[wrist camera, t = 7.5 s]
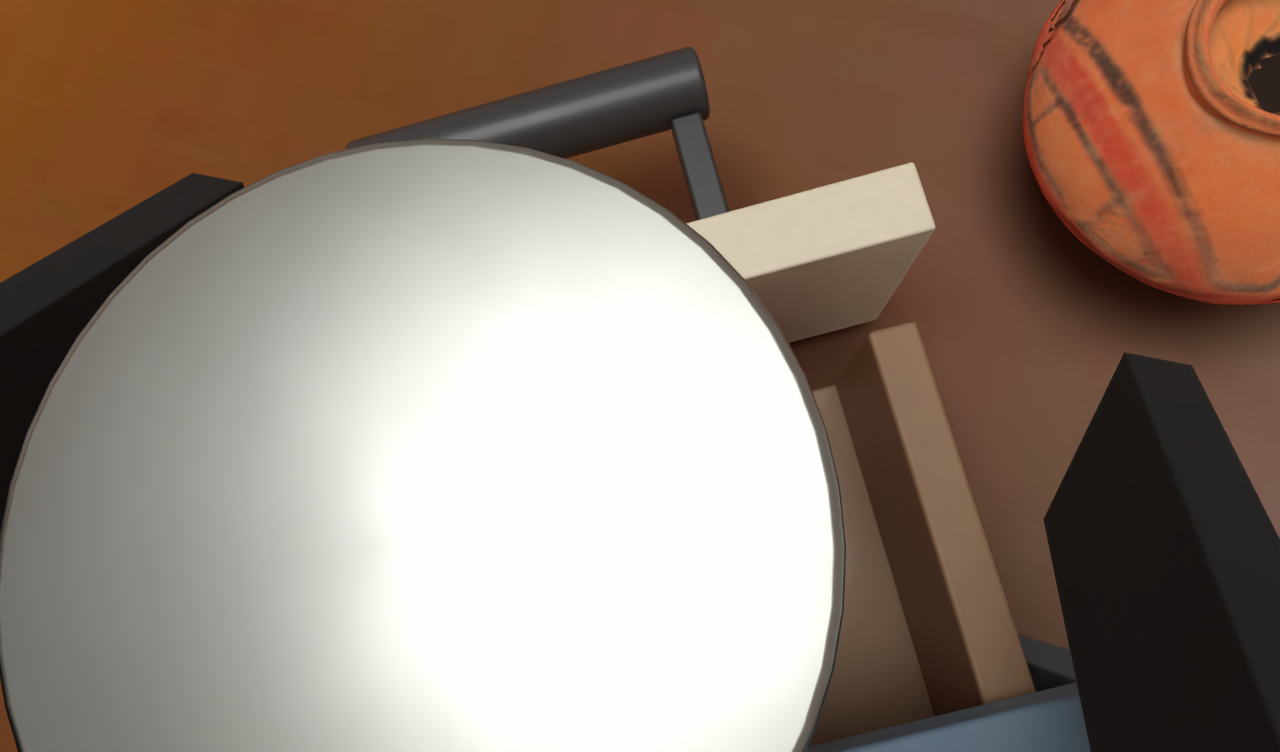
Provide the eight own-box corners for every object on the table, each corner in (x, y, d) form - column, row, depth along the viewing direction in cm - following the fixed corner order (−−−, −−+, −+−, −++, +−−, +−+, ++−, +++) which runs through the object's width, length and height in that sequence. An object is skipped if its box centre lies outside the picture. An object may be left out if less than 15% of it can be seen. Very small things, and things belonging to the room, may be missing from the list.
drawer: (309, 242, 22) (160, 133, 16) (810, 104, 21) (840, -60, 15) (443, 999, 18) (313, 1203, 12) (1048, 858, 18) (1201, 1006, 12)
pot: (1444, 266, 19) (1693, 172, 13) (1069, 376, 22) (1126, 341, 15) (1299, -51, 21) (1460, -277, 14) (960, 81, 23) (970, -64, 17)
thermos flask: (664, 714, 18) (448, 1277, 4) (490, 567, 19) (-176, 616, 5) (803, 529, 18) (1032, 462, 4) (626, 393, 19) (362, -10, 5)
